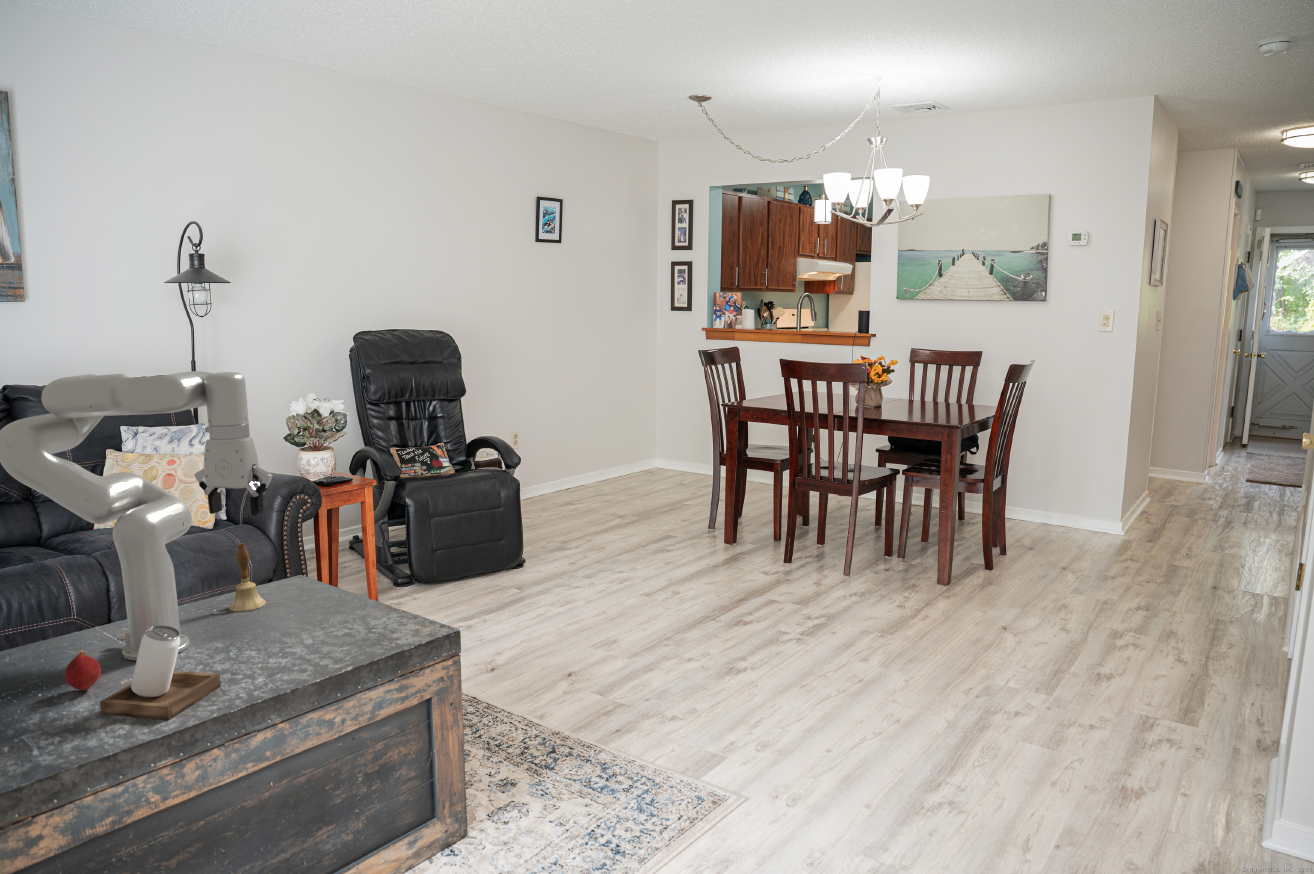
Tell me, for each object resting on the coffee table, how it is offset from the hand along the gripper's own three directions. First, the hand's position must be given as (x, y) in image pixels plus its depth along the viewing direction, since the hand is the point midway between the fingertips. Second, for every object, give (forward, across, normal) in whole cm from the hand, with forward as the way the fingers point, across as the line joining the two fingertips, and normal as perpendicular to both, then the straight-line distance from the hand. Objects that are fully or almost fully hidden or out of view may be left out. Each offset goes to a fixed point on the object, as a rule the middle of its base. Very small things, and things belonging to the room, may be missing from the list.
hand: (236, 513), depth 184 cm
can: (+29, -4, -23) cm, 37 cm away
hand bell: (+31, -18, +25) cm, 43 cm away
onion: (+31, -19, -23) cm, 43 cm away
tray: (+30, -1, -24) cm, 39 cm away
